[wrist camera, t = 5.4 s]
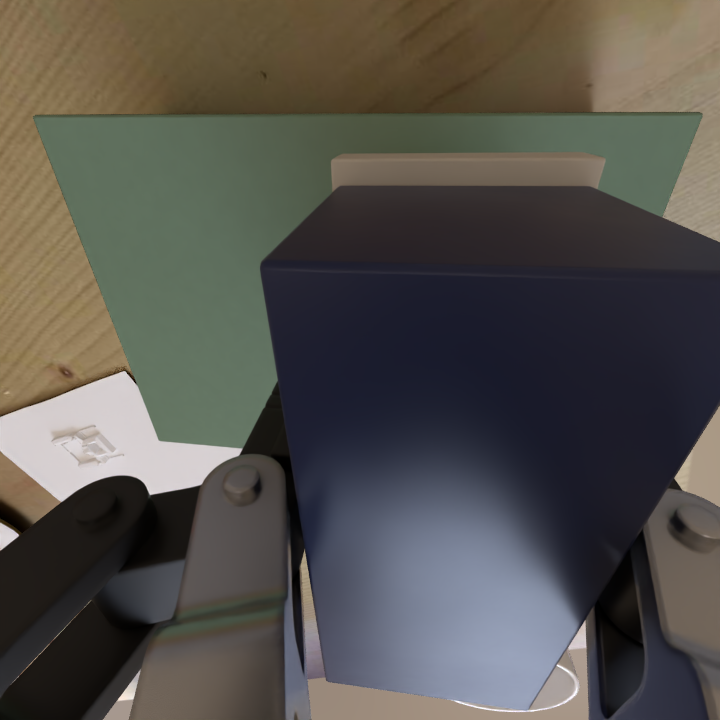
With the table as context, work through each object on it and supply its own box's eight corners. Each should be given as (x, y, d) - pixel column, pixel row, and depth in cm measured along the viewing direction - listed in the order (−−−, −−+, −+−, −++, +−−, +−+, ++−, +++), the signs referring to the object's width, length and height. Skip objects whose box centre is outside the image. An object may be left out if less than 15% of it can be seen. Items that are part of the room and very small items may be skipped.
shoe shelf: (162, 113, 17) (29, 114, 11) (594, 112, 15) (706, 111, 9) (221, 361, 24) (158, 441, 18) (520, 381, 22) (558, 478, 16)
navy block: (340, 153, 7) (234, 212, 3) (584, 151, 7) (860, 220, 3) (353, 496, 13) (321, 689, 8) (490, 508, 12) (529, 720, 8)
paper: (122, 551, 38) (115, 562, 37) (-32, 429, 31) (-46, 438, 30) (344, 501, 30) (342, 513, 29) (207, 315, 22) (198, 324, 21)
